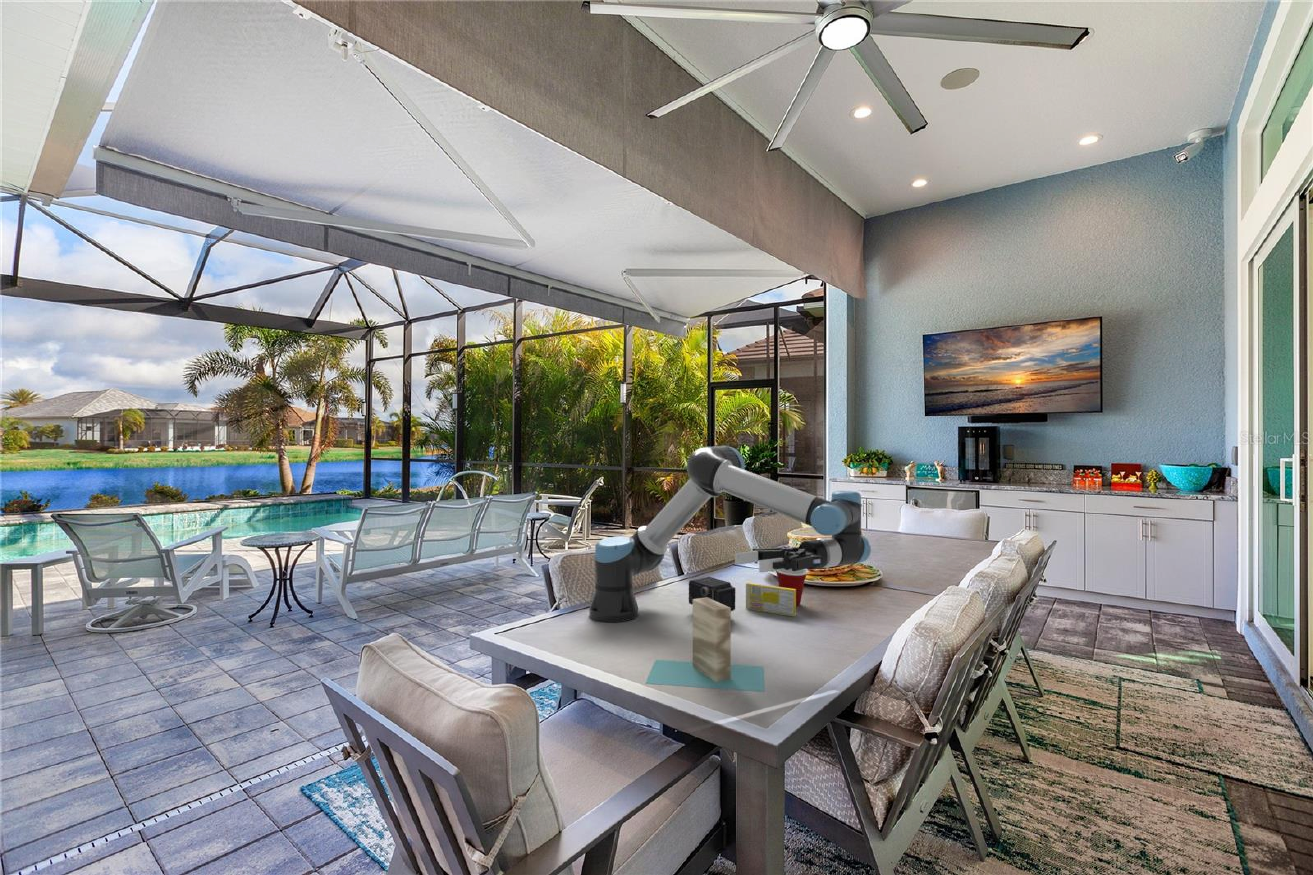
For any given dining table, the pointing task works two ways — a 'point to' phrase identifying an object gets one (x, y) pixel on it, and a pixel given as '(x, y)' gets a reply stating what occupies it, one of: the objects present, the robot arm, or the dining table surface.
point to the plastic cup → (792, 581)
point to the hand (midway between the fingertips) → (747, 562)
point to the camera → (712, 591)
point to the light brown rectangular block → (712, 638)
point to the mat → (691, 677)
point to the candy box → (771, 599)
